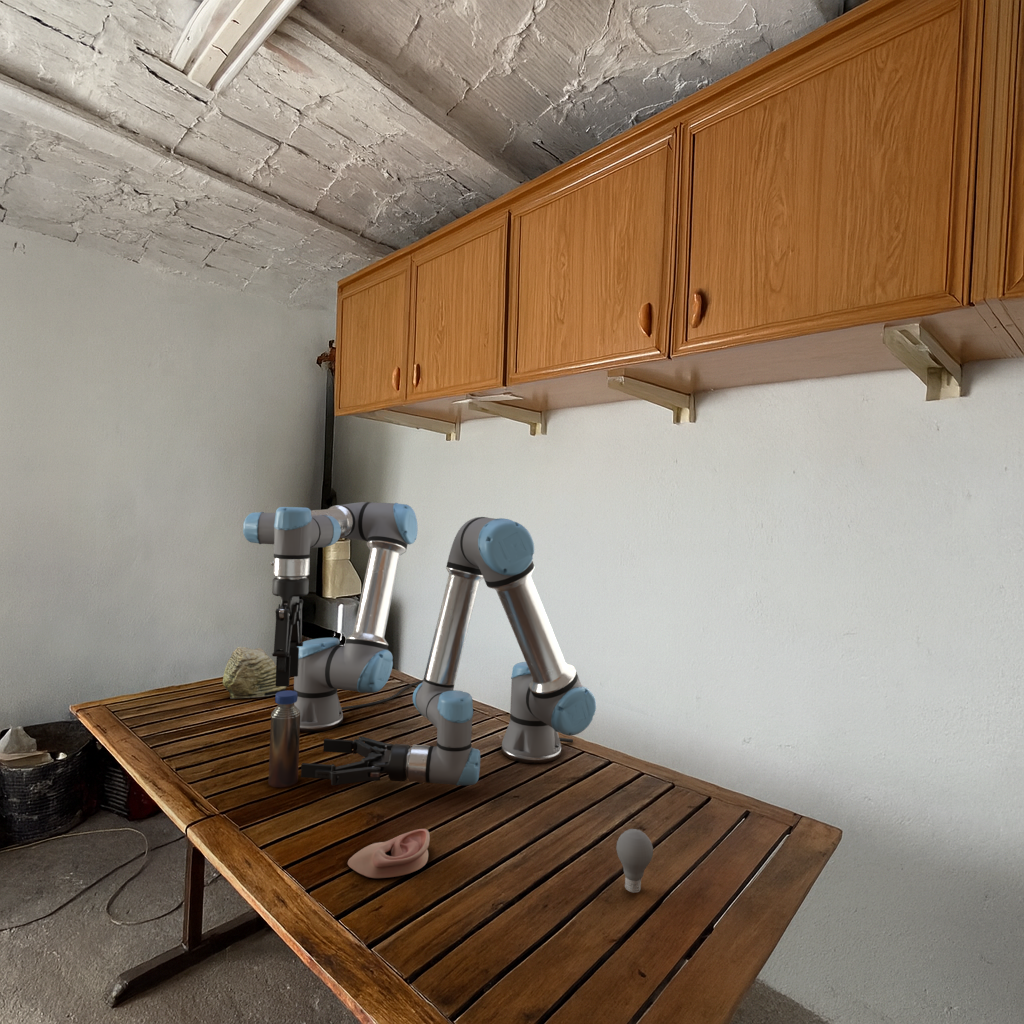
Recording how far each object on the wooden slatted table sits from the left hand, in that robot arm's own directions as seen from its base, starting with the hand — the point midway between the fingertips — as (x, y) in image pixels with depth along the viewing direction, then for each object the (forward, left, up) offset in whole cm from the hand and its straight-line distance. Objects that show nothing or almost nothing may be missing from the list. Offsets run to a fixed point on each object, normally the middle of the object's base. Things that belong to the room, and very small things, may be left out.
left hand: (287, 680), depth 140 cm
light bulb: (-17, +77, -22) cm, 82 cm away
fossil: (-26, -60, -22) cm, 69 cm away
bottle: (0, 0, -22) cm, 22 cm away
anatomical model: (+4, +41, -22) cm, 47 cm away
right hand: (-4, +6, -16) cm, 18 cm away
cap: (0, 0, -3) cm, 3 cm away
